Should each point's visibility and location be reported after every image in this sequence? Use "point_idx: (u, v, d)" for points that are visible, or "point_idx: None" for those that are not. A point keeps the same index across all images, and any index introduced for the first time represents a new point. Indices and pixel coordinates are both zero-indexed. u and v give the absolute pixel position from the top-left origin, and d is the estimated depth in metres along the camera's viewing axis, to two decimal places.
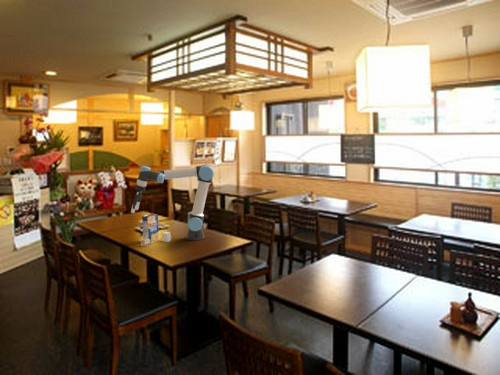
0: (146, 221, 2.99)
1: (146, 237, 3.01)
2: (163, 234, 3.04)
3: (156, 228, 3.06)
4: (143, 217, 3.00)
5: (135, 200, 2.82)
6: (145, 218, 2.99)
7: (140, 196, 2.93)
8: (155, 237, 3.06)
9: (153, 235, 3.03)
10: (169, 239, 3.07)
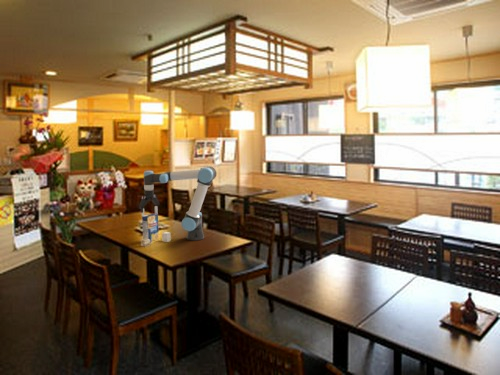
0: (146, 221, 2.99)
1: (146, 237, 3.01)
2: (163, 234, 3.04)
3: (156, 228, 3.06)
4: (143, 217, 3.00)
5: (140, 204, 2.95)
6: (145, 218, 2.99)
7: (153, 200, 3.04)
8: (155, 237, 3.06)
9: (153, 235, 3.03)
10: (169, 239, 3.07)
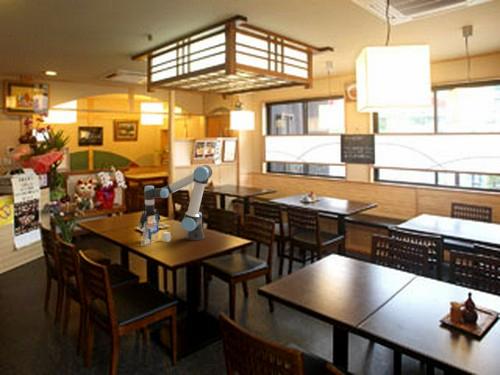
0: (146, 221, 2.99)
1: (146, 237, 3.01)
2: (163, 234, 3.04)
3: (156, 228, 3.06)
4: None
5: (141, 219, 2.97)
6: None
7: (153, 214, 3.05)
8: (155, 237, 3.06)
9: (153, 235, 3.03)
10: (169, 239, 3.07)
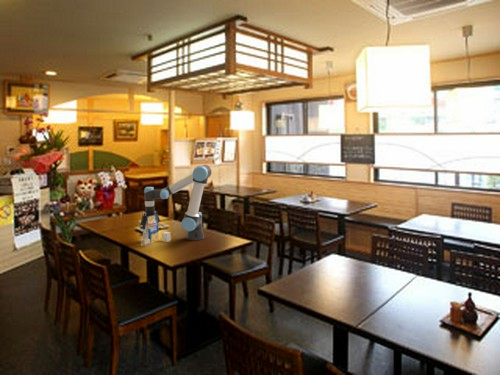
0: (146, 221, 2.99)
1: (146, 237, 3.01)
2: (163, 234, 3.04)
3: (156, 228, 3.06)
4: None
5: (142, 221, 2.97)
6: (145, 218, 2.99)
7: None
8: (155, 237, 3.06)
9: (152, 235, 3.03)
10: (169, 239, 3.07)
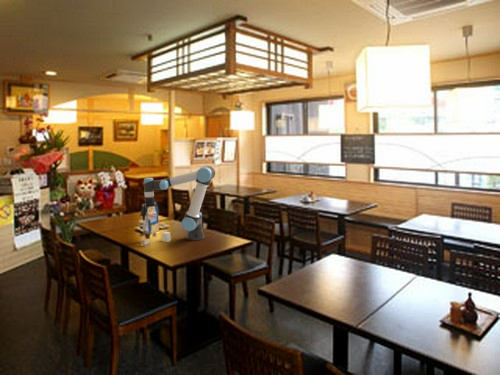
0: (146, 212, 2.98)
1: (146, 228, 3.00)
2: (163, 234, 3.04)
3: (156, 219, 3.05)
4: None
5: (141, 212, 2.96)
6: (145, 209, 2.98)
7: None
8: (155, 228, 3.05)
9: (153, 226, 3.02)
10: (169, 239, 3.07)
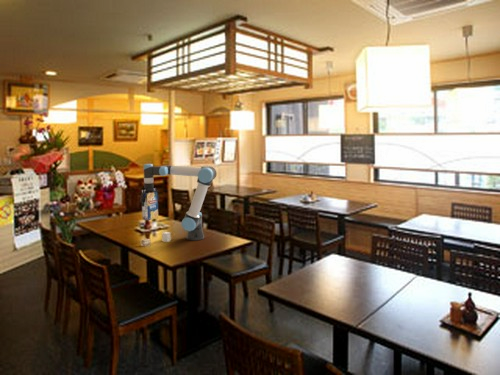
0: (145, 198, 2.96)
1: (145, 214, 2.98)
2: (163, 234, 3.04)
3: (155, 205, 3.03)
4: None
5: (141, 198, 2.95)
6: (144, 195, 2.97)
7: None
8: (155, 214, 3.03)
9: (152, 212, 3.01)
10: (169, 239, 3.07)
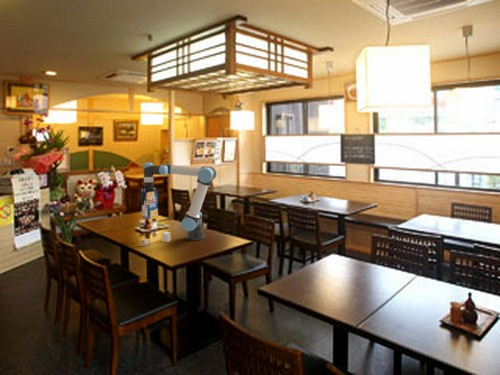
0: (145, 197, 2.96)
1: (145, 213, 2.98)
2: (163, 234, 3.04)
3: (155, 204, 3.03)
4: None
5: (141, 197, 2.95)
6: (144, 194, 2.96)
7: None
8: (154, 213, 3.03)
9: (152, 211, 3.01)
10: (169, 239, 3.07)
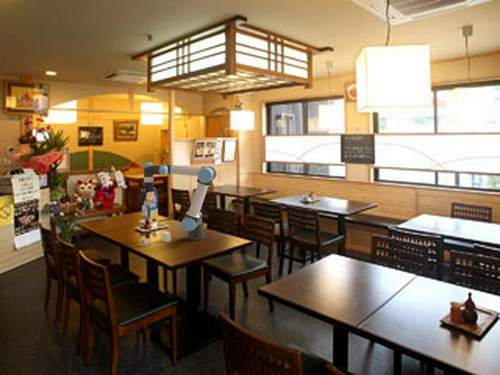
0: (145, 197, 2.96)
1: (145, 213, 2.98)
2: (163, 234, 3.04)
3: (155, 204, 3.03)
4: None
5: (141, 197, 2.95)
6: (144, 194, 2.96)
7: None
8: (154, 213, 3.03)
9: (152, 211, 3.01)
10: (169, 239, 3.07)
